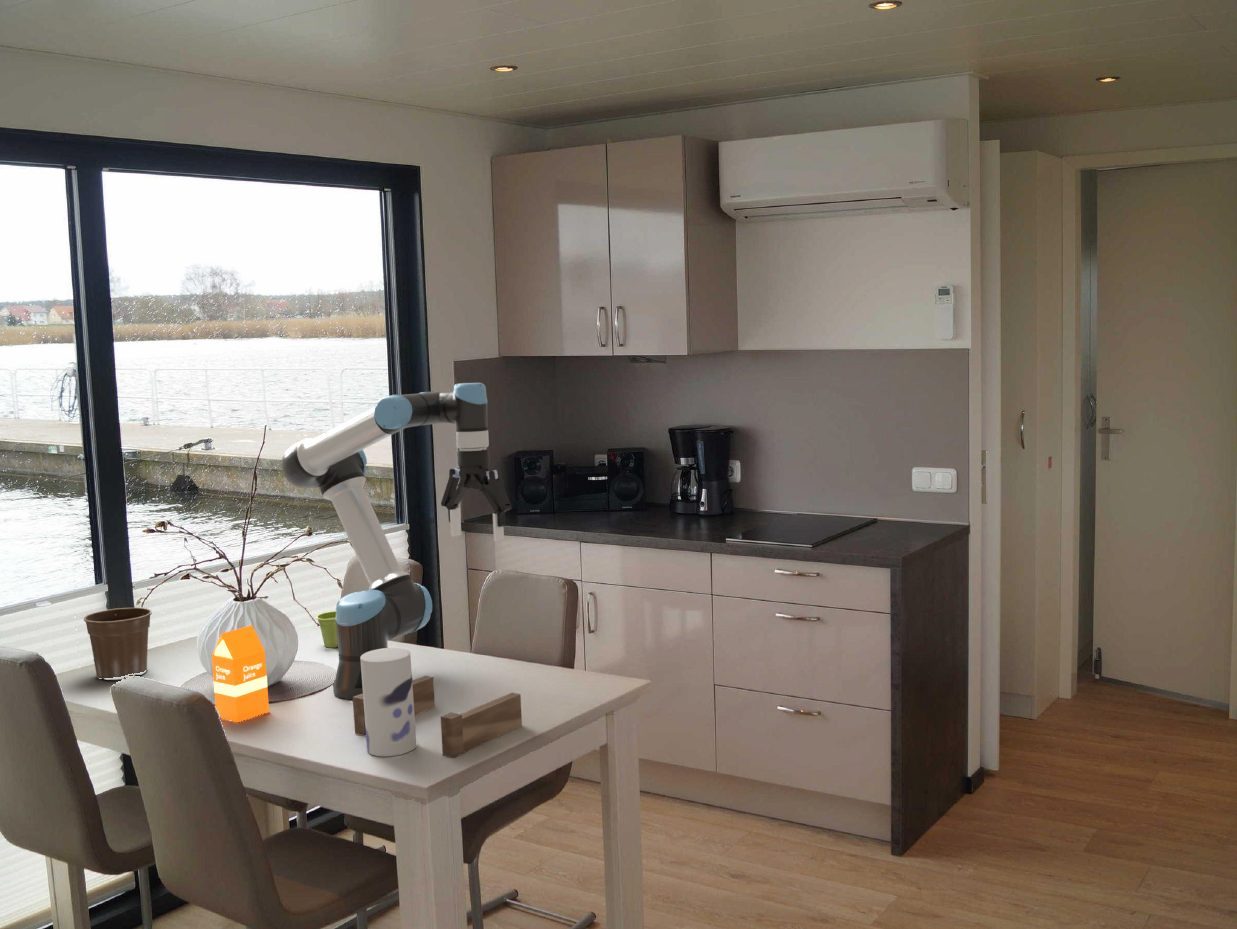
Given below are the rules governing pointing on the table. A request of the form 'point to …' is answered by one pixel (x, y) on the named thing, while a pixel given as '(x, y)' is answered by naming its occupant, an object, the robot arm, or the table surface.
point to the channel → (458, 718)
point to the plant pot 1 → (119, 640)
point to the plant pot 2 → (328, 628)
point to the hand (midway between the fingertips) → (477, 538)
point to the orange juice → (240, 675)
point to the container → (388, 701)
